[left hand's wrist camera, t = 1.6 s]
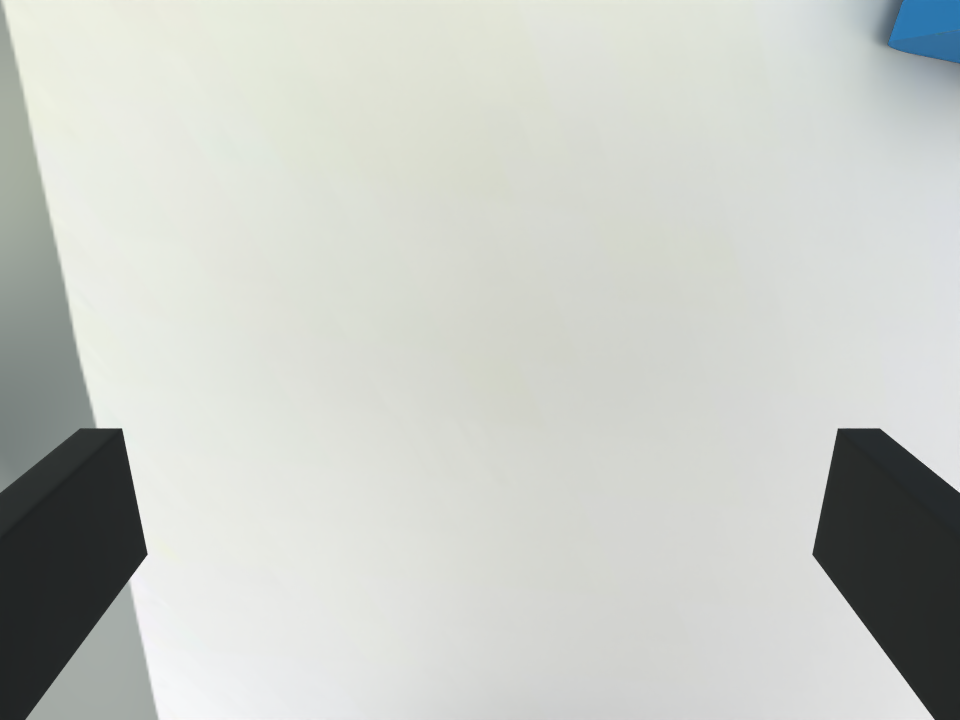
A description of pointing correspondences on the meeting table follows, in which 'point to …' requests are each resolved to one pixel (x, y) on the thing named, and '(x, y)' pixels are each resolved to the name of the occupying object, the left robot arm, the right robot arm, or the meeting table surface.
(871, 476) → the left robot arm
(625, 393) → the meeting table surface
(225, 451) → the meeting table surface
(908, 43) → the logo
